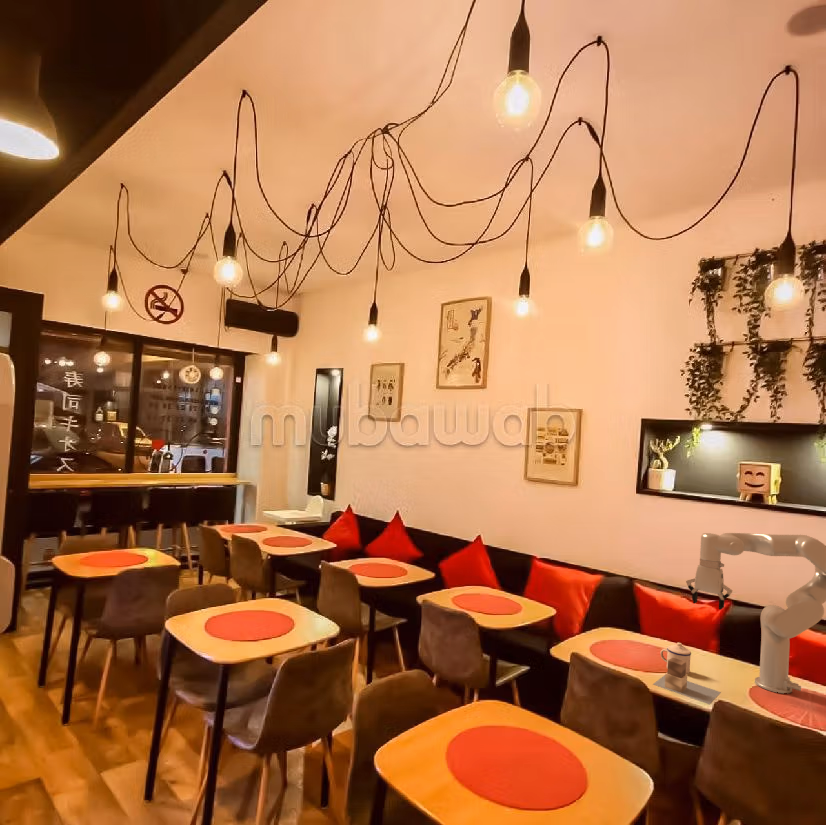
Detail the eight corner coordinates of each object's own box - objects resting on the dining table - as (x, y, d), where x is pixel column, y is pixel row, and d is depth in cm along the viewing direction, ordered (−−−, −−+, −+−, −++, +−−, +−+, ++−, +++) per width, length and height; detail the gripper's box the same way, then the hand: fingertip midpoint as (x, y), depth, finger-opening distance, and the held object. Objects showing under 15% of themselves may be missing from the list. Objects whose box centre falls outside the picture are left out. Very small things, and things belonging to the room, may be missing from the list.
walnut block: (685, 674, 214) (686, 661, 214) (681, 678, 211) (681, 664, 211) (671, 670, 218) (672, 657, 218) (667, 673, 214) (668, 660, 214)
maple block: (686, 688, 214) (687, 674, 214) (681, 692, 210) (682, 679, 210) (670, 682, 218) (670, 669, 218) (664, 686, 214) (665, 673, 214)
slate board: (721, 694, 213) (721, 692, 213) (709, 707, 202) (709, 704, 202) (666, 676, 226) (666, 673, 226) (652, 686, 215) (652, 684, 215)
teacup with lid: (693, 673, 232) (695, 644, 232) (684, 678, 226) (686, 649, 226) (664, 662, 241) (666, 635, 241) (655, 667, 235) (656, 639, 235)
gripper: (735, 567, 228) (733, 609, 228) (690, 558, 240) (688, 599, 240) (730, 569, 223) (728, 613, 222) (684, 560, 235) (682, 602, 234)
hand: (707, 605), depth 231 cm, fingers open, 9 cm apart
